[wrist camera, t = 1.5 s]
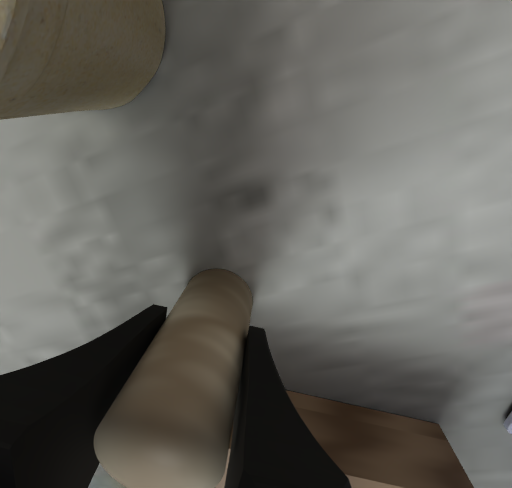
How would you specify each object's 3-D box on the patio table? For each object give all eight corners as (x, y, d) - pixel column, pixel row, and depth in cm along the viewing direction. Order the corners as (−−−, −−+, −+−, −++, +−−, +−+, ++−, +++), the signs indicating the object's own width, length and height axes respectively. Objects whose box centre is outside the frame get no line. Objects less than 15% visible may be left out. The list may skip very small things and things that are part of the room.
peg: (259, 277, 15) (237, 424, 7) (245, 334, 16) (214, 511, 8) (189, 262, 15) (93, 392, 7) (181, 320, 16) (93, 484, 8)
